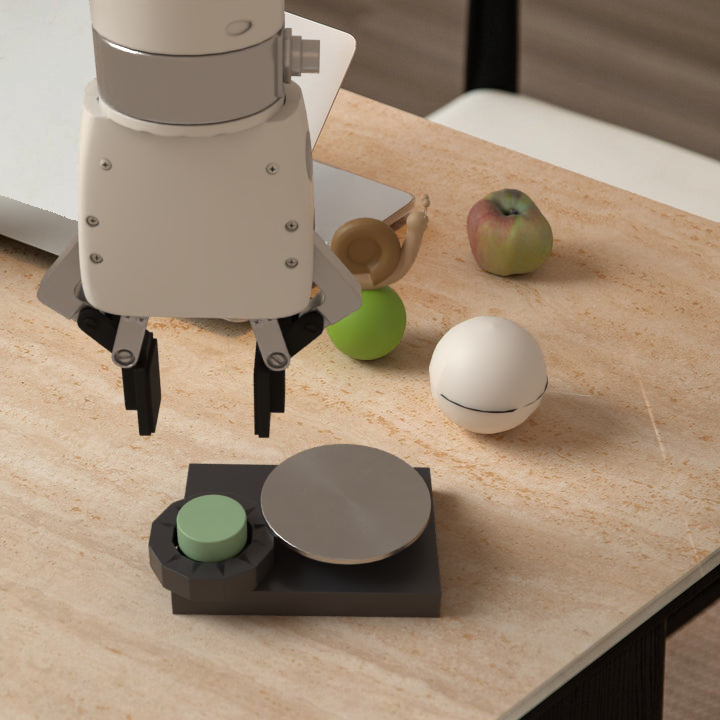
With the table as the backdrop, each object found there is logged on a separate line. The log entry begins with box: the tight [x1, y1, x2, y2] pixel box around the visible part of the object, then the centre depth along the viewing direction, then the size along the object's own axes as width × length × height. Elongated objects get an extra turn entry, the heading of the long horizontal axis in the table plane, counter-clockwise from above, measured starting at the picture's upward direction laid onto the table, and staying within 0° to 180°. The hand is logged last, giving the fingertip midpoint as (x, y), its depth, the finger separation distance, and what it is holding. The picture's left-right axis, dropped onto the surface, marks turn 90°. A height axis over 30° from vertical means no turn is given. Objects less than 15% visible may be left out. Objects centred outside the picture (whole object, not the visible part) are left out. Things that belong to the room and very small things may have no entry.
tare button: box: [177, 495, 247, 563], centre depth 65 cm, size 4×4×2 cm
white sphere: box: [428, 315, 591, 435], centre depth 76 cm, size 10×7×7 cm
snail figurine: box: [325, 193, 431, 361], centre depth 81 cm, size 5×6×12 cm
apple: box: [466, 188, 554, 277], centre depth 93 cm, size 6×8×6 cm
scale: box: [147, 462, 443, 619], centre depth 68 cm, size 15×11×4 cm
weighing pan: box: [261, 443, 431, 565], centre depth 67 cm, size 9×9×1 cm
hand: (207, 416), depth 60 cm, fingers open, 4 cm apart
